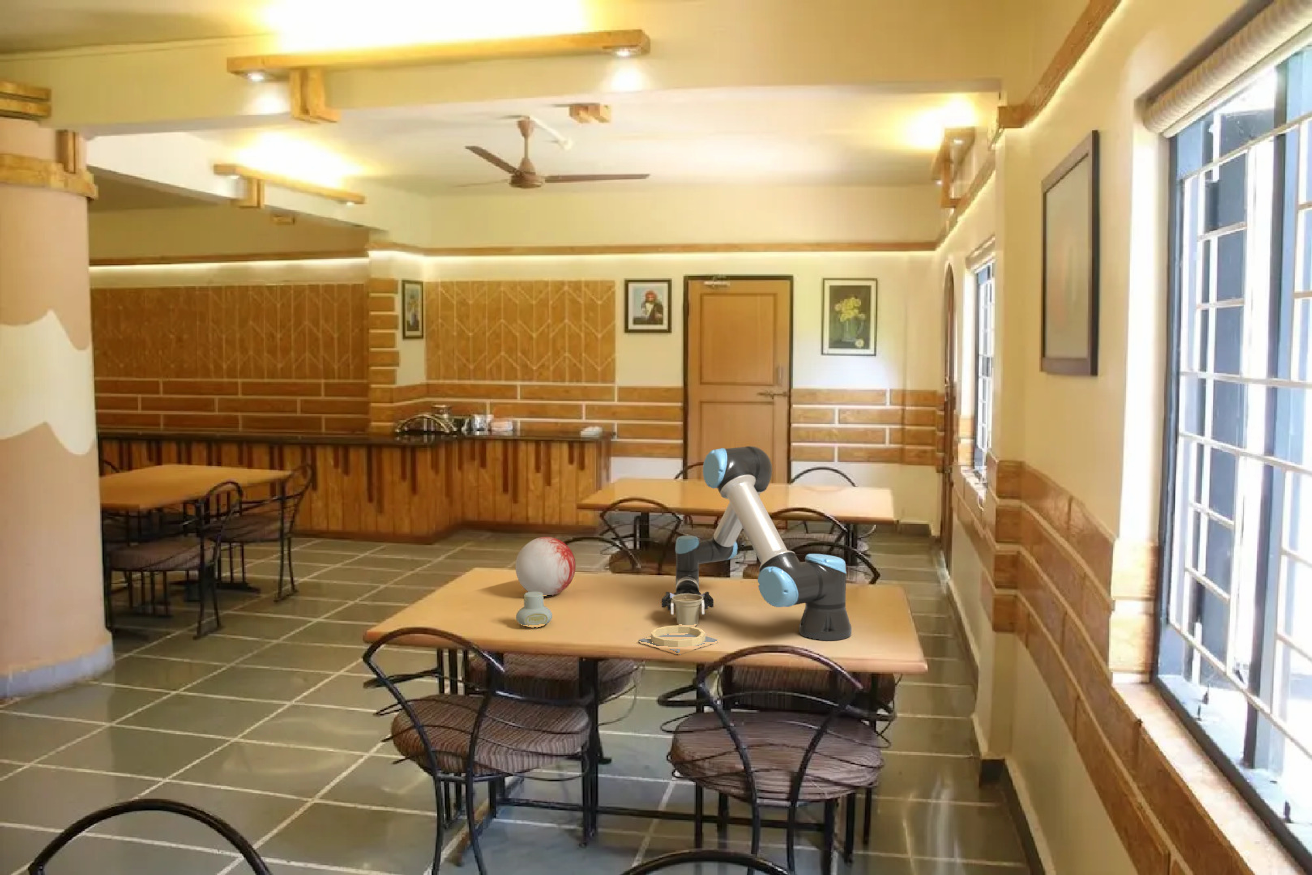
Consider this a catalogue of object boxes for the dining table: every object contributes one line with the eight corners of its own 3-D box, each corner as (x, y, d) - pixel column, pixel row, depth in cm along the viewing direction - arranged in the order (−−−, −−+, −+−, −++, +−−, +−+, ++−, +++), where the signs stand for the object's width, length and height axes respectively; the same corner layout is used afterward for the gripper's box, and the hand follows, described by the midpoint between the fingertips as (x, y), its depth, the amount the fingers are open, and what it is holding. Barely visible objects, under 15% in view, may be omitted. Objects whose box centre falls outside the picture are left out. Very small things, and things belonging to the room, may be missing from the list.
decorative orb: (547, 585, 367) (545, 529, 365) (588, 593, 354) (587, 536, 352) (502, 597, 351) (501, 539, 349) (544, 606, 338) (543, 546, 336)
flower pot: (703, 629, 310) (703, 601, 309) (672, 629, 310) (671, 601, 309) (702, 620, 319) (702, 593, 318) (672, 621, 319) (672, 593, 318)
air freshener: (518, 631, 310) (517, 598, 309) (514, 623, 318) (513, 591, 317) (554, 627, 313) (553, 595, 312) (549, 620, 321) (549, 589, 320)
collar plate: (717, 642, 296) (717, 632, 296) (677, 655, 285) (677, 644, 285) (678, 631, 307) (678, 621, 307) (638, 643, 297) (638, 632, 296)
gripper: (720, 602, 332) (723, 621, 309) (654, 602, 332) (652, 622, 310) (720, 579, 331) (723, 597, 309) (654, 579, 332) (651, 597, 309)
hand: (687, 609), depth 309 cm, fingers closed on flower pot, 8 cm apart
